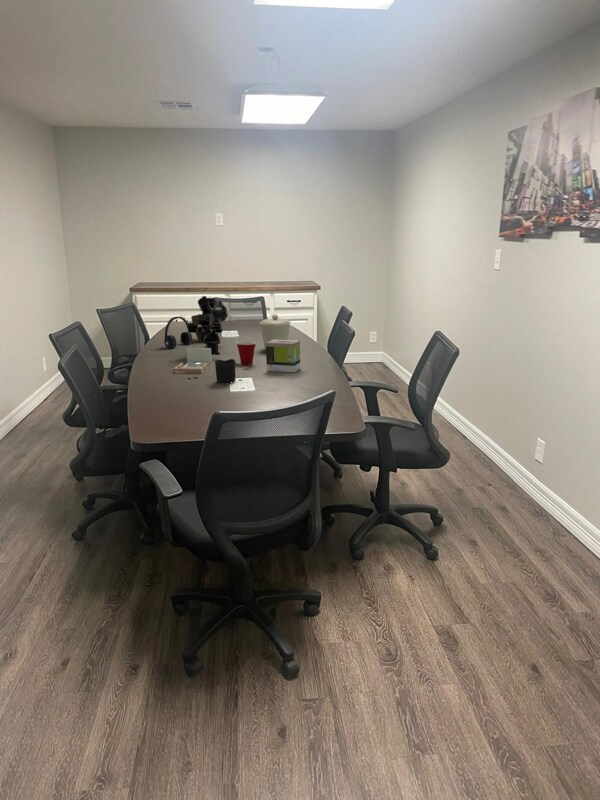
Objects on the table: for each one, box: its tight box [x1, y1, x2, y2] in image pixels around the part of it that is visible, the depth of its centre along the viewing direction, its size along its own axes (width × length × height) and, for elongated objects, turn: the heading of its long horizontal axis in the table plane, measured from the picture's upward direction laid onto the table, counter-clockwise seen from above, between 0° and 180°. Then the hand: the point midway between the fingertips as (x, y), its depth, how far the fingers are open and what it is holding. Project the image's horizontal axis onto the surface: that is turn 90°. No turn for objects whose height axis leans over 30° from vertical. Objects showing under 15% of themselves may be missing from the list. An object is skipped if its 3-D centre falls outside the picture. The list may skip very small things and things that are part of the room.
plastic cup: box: [235, 340, 257, 366], centre depth 290 cm, size 11×11×12 cm
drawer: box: [181, 347, 213, 369], centre depth 284 cm, size 14×13×9 cm
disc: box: [188, 361, 204, 367], centre depth 284 cm, size 8×8×2 cm
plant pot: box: [190, 314, 214, 343], centre depth 352 cm, size 15×15×16 cm
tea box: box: [265, 339, 301, 373], centre depth 277 cm, size 15×10×15 cm, turn 71°
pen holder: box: [214, 358, 236, 384], centre depth 257 cm, size 9×9×10 cm
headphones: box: [163, 316, 193, 349], centre depth 336 cm, size 20×7×18 cm, turn 148°
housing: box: [172, 362, 209, 374], centre depth 276 cm, size 14×14×3 cm
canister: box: [259, 314, 292, 350], centre depth 322 cm, size 18×18×21 cm
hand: (202, 340), depth 296 cm, fingers closed
